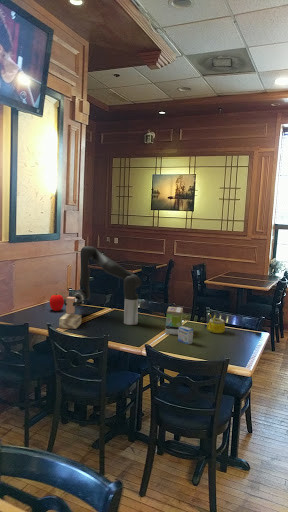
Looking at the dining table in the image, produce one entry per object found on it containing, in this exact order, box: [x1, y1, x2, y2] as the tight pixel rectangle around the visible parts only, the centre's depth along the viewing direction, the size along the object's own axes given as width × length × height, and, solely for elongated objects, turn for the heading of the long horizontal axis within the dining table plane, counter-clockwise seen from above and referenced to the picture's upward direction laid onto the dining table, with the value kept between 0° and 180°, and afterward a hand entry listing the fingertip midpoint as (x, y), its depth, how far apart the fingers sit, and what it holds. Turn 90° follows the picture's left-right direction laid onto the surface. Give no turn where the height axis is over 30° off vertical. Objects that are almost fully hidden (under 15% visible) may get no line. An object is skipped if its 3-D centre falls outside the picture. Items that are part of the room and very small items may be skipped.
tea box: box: [164, 306, 184, 336], centre depth 238 cm, size 15×10×15 cm, turn 171°
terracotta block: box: [65, 296, 76, 314], centre depth 240 cm, size 5×5×10 cm
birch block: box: [58, 313, 82, 330], centre depth 241 cm, size 11×13×6 cm
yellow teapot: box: [206, 314, 226, 334], centre depth 240 cm, size 13×11×12 cm
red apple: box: [48, 293, 65, 312], centre depth 279 cm, size 11×11×13 cm
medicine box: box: [177, 325, 194, 345], centre depth 216 cm, size 8×4×9 cm, turn 45°
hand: (69, 304), depth 237 cm, fingers closed on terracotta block, 4 cm apart
